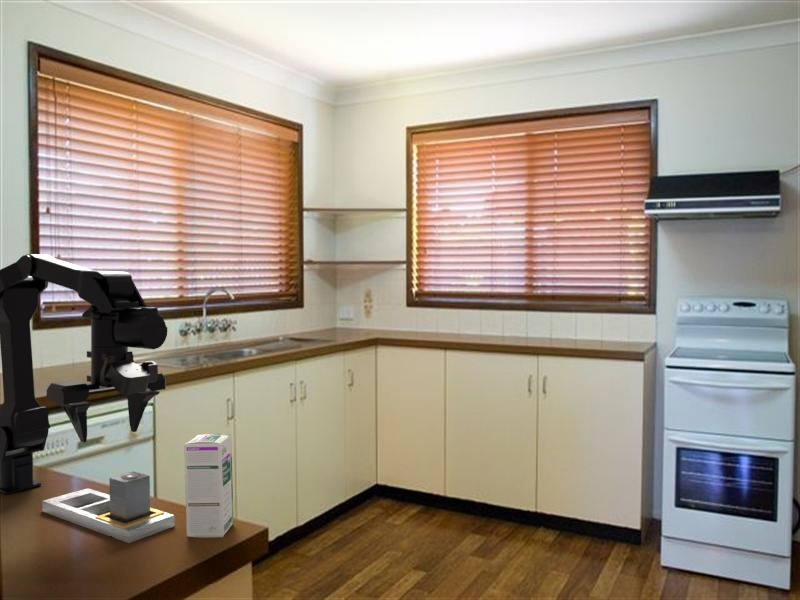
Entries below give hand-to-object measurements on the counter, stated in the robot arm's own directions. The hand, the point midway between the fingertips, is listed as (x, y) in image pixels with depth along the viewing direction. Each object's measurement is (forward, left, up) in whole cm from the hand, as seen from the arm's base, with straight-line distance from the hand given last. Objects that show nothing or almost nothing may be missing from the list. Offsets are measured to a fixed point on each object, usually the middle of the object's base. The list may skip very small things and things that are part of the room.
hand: (109, 436), depth 113 cm
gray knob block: (+11, -4, -12) cm, 17 cm away
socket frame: (+5, -4, -12) cm, 13 cm away
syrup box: (+23, +2, -12) cm, 26 cm away
